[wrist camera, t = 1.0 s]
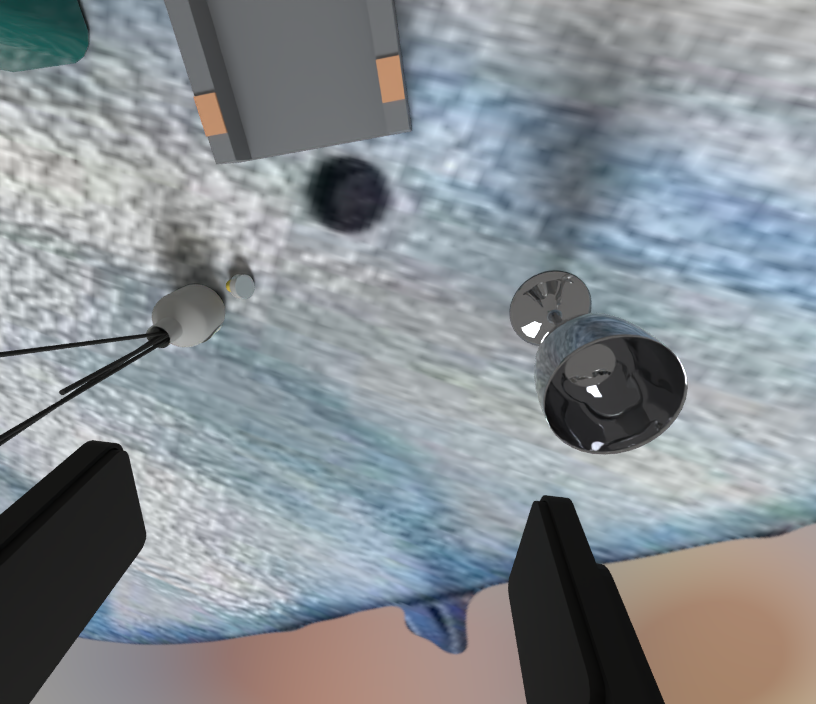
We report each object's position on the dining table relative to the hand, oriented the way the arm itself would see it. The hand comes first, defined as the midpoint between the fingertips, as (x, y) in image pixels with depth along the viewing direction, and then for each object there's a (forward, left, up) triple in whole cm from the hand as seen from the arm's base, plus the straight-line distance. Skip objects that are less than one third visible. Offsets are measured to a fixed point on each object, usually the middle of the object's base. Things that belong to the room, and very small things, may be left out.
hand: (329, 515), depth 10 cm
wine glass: (-12, +7, -30) cm, 33 cm away
